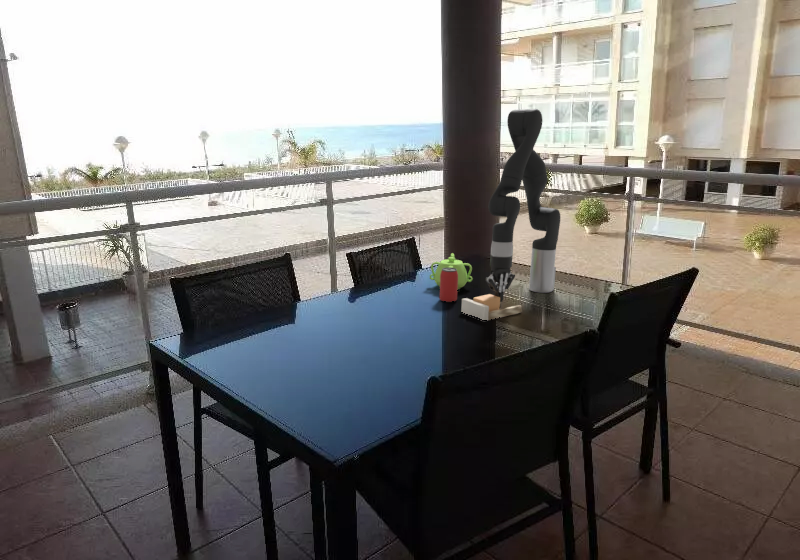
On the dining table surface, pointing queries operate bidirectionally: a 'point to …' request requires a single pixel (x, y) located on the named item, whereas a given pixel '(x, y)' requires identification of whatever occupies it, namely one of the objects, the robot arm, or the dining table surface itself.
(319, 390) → the dining table surface
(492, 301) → the block
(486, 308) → the stop block
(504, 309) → the guide lane
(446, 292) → the beer can
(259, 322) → the dining table surface
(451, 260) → the green sugar bowl
